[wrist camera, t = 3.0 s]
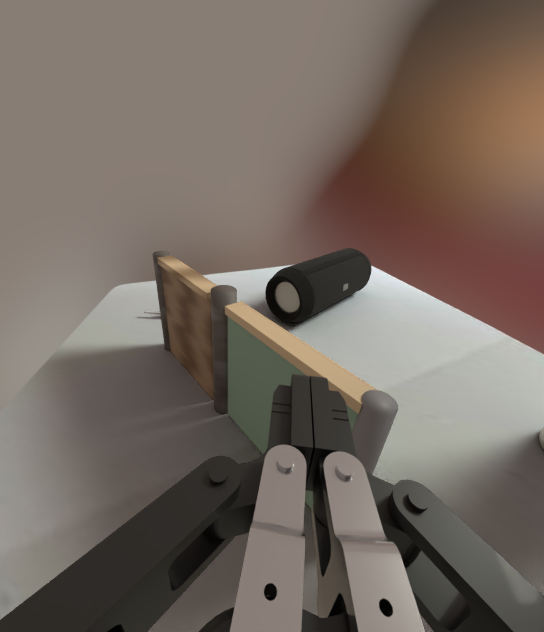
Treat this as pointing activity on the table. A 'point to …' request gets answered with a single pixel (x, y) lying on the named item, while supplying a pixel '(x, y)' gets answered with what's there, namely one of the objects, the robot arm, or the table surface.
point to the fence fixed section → (195, 324)
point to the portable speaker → (316, 284)
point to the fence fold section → (276, 369)
